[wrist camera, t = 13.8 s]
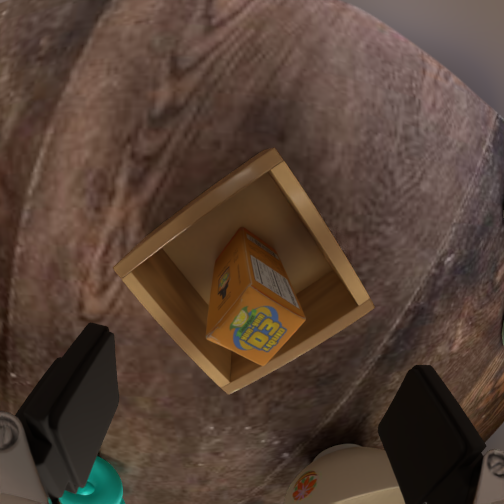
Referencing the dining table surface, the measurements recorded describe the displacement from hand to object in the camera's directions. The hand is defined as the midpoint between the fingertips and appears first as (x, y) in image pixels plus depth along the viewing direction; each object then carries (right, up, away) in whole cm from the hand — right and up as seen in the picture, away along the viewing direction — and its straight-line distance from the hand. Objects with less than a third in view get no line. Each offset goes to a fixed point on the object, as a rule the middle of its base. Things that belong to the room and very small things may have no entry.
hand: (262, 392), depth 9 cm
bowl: (+10, -20, +22) cm, 32 cm away
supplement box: (-1, +4, +14) cm, 15 cm away
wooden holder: (-1, +4, +14) cm, 15 cm away
